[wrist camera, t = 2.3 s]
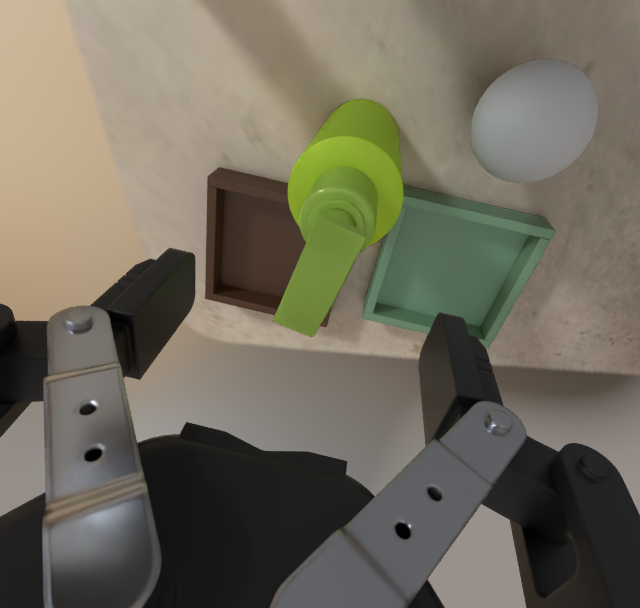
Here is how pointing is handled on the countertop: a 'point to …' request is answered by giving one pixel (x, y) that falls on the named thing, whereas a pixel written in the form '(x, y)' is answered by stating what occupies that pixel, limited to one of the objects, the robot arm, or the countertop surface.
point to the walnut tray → (250, 241)
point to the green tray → (454, 263)
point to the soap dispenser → (340, 206)
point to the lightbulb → (534, 120)
